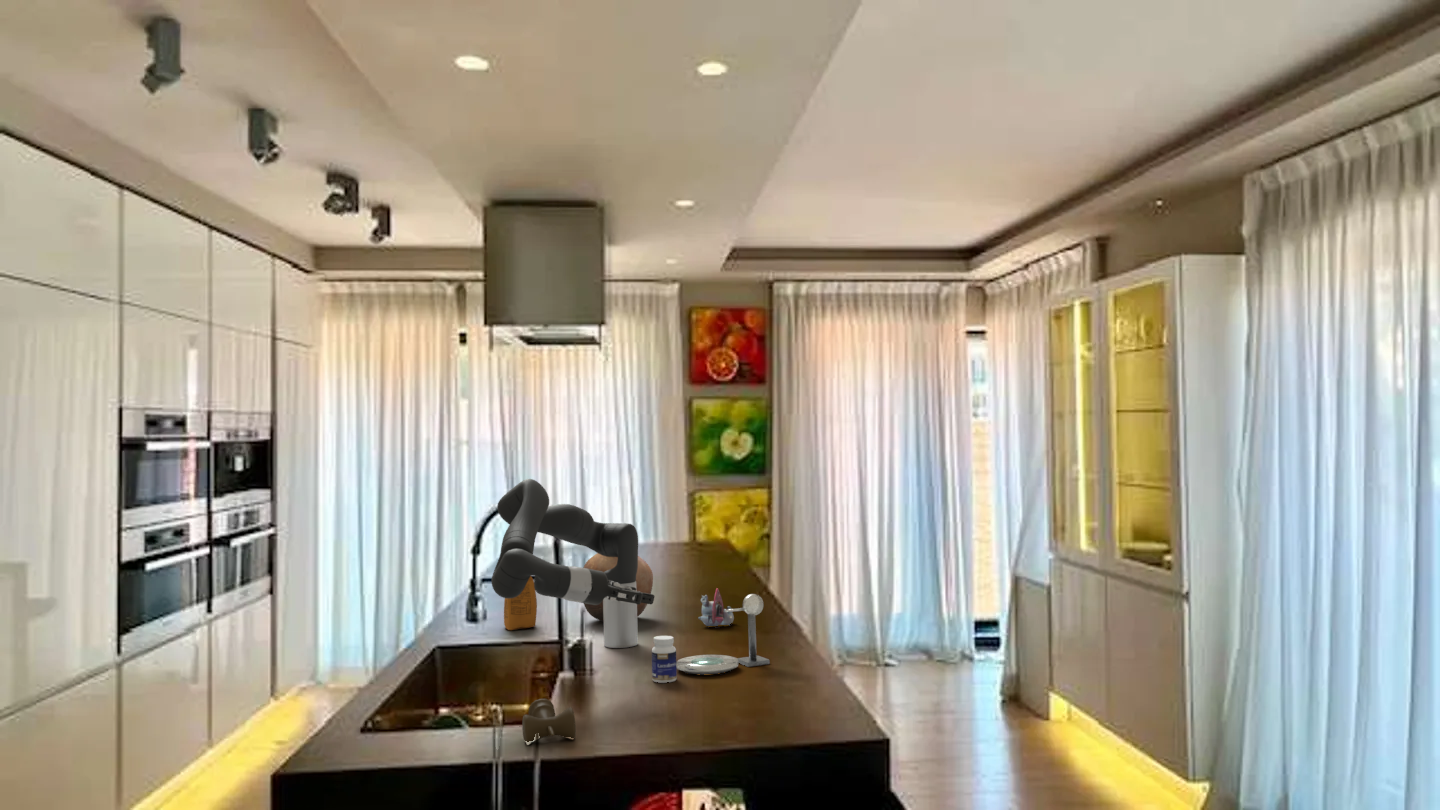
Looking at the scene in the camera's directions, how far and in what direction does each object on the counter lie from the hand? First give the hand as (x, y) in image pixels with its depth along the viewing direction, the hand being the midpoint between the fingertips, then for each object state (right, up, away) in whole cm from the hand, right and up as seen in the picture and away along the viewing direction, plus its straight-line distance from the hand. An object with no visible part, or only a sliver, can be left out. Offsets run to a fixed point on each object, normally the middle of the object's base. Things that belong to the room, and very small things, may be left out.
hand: (643, 595), depth 227 cm
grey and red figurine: (+16, -23, +70) cm, 76 cm away
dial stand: (+24, -20, +17) cm, 36 cm away
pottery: (-15, -24, +82) cm, 87 cm away
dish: (+14, -20, +13) cm, 28 cm away
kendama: (-16, -20, -38) cm, 45 cm away
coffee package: (-44, -25, +77) cm, 92 cm away
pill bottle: (+5, -20, +3) cm, 21 cm away
